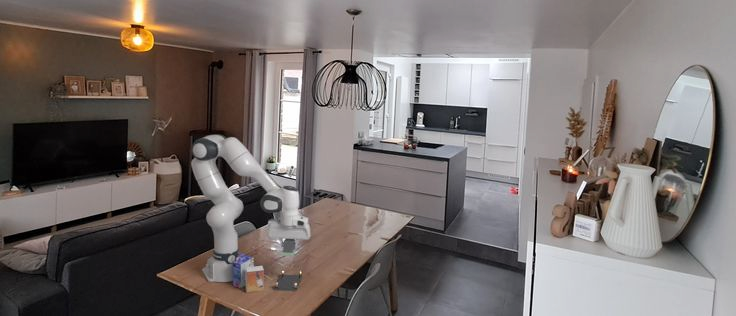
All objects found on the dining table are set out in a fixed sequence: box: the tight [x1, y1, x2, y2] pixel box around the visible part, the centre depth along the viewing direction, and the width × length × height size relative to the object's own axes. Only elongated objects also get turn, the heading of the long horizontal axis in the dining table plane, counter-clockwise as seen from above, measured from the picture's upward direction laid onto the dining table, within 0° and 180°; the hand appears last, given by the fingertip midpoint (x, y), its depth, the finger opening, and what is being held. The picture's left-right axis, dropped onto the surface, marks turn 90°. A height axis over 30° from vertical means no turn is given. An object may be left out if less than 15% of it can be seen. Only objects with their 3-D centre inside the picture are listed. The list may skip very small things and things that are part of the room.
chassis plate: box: [273, 269, 303, 292], centre depth 205 cm, size 11×15×4 cm
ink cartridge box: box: [232, 253, 255, 289], centre depth 202 cm, size 10×6×14 cm, turn 158°
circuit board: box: [280, 239, 298, 257], centre depth 202 cm, size 6×10×6 cm, turn 179°
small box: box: [244, 265, 265, 294], centre depth 197 cm, size 8×6×10 cm
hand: (289, 246), depth 202 cm, fingers closed on circuit board, 4 cm apart
